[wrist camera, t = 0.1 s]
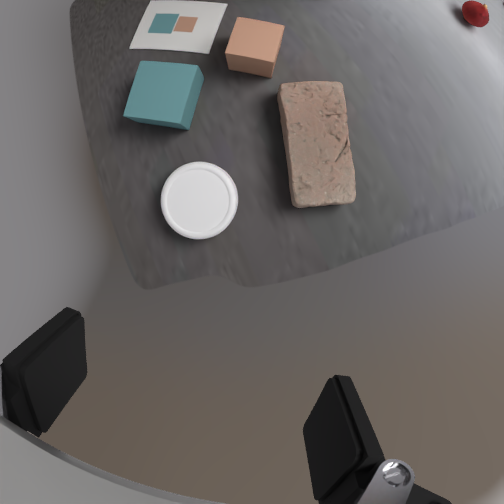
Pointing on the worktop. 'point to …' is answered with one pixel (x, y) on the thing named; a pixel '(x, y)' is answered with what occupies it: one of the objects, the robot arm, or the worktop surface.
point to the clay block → (254, 46)
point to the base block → (164, 94)
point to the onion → (475, 13)
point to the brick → (316, 143)
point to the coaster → (199, 200)
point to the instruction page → (179, 26)
